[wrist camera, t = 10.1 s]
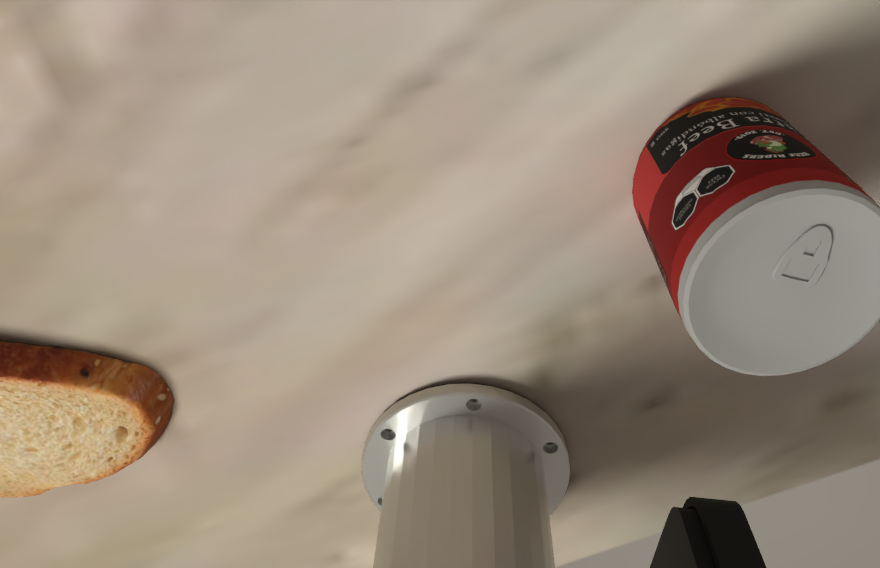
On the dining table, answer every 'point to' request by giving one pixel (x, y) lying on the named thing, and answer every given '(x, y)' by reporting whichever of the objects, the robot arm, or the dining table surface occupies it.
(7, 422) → the slice of bread
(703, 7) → the dining table surface
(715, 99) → the canned food
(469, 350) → the dining table surface
